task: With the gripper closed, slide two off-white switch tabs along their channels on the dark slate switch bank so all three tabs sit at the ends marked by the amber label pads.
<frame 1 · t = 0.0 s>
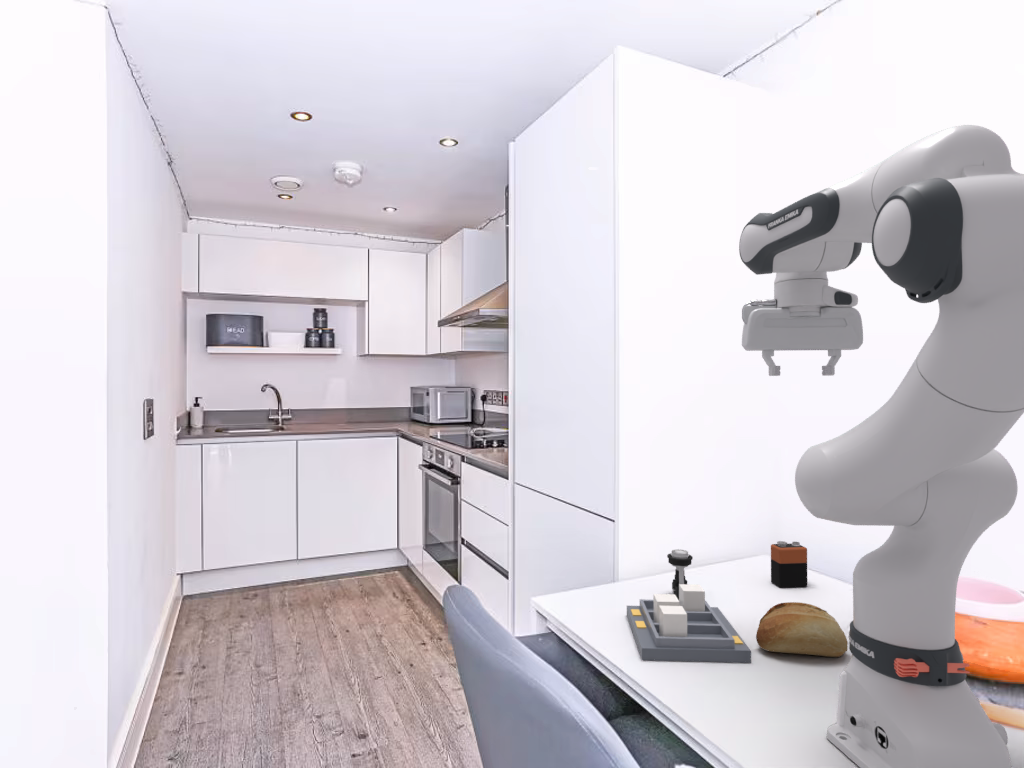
hand: (801, 375, 109), 48 cm above the table, fingers open, 8 cm apart
battery: (789, 585, 140), on the table
tab 1: (673, 624, 105), point 5 cm above the table, slide at 3.0 cm
push button: (679, 597, 133), on the table
switch bank: (683, 636, 111), on the table
bread roll: (800, 653, 105), on the table
tab 3: (691, 600, 117), point 5 cm above the table, slide at -3.0 cm
tab 2: (666, 611, 111), point 5 cm above the table, slide at 3.0 cm
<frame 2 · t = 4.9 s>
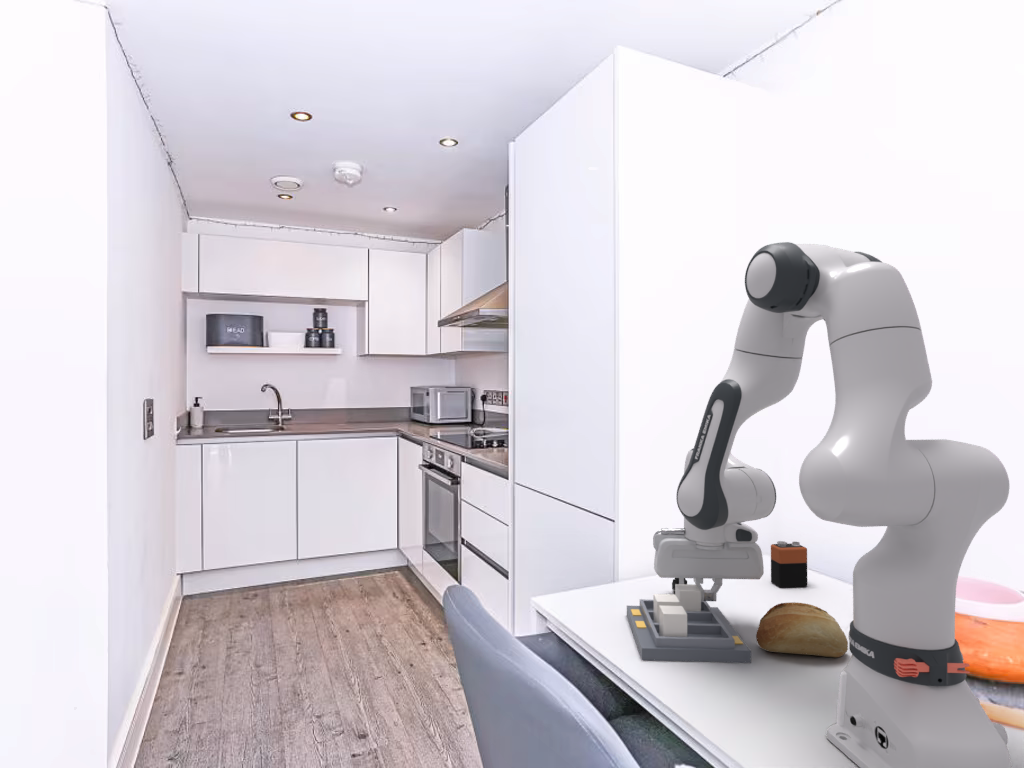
hand: (707, 600, 117), 5 cm above the table, fingers closed
tab 3: (687, 600, 117), point 5 cm above the table, slide at -2.3 cm, touching gripper
everything else where it was.
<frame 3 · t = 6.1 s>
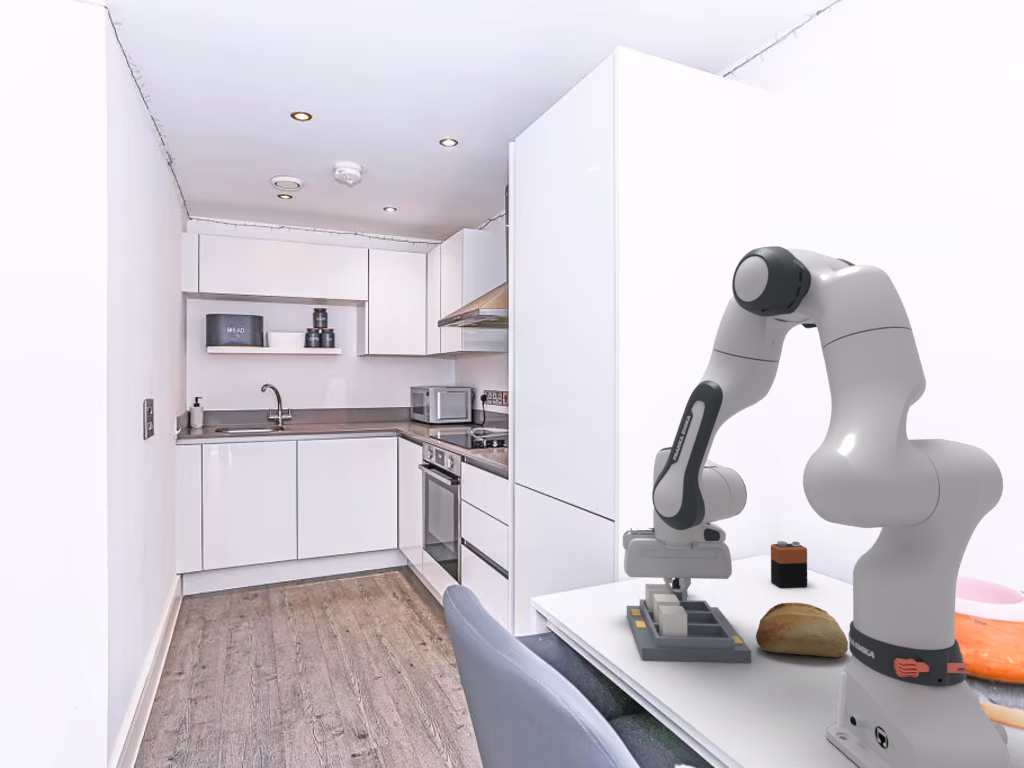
hand: (676, 599, 117), 5 cm above the table, fingers closed
tab 3: (657, 600, 117), point 5 cm above the table, slide at 3.6 cm, touching gripper
everything else where it was.
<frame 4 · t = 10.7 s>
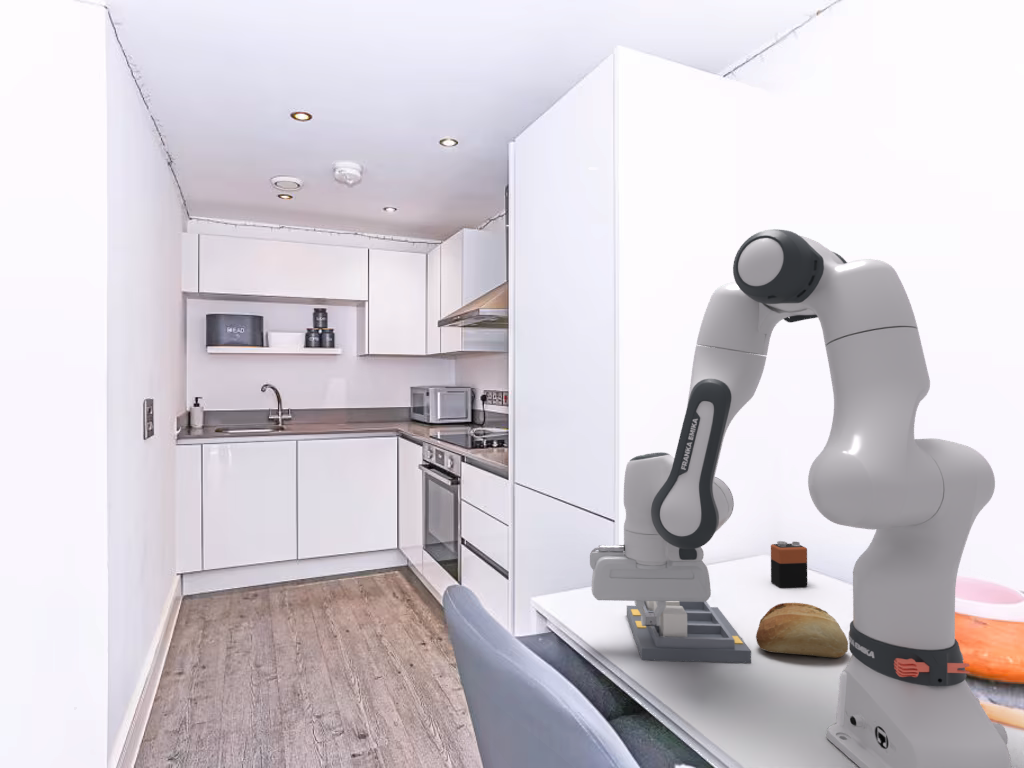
hand: (650, 625, 105), 4 cm above the table, fingers closed
tab 1: (673, 624, 105), point 5 cm above the table, slide at 3.0 cm, touching gripper
tab 3: (657, 600, 117), point 5 cm above the table, slide at 3.5 cm
everything else where it was.
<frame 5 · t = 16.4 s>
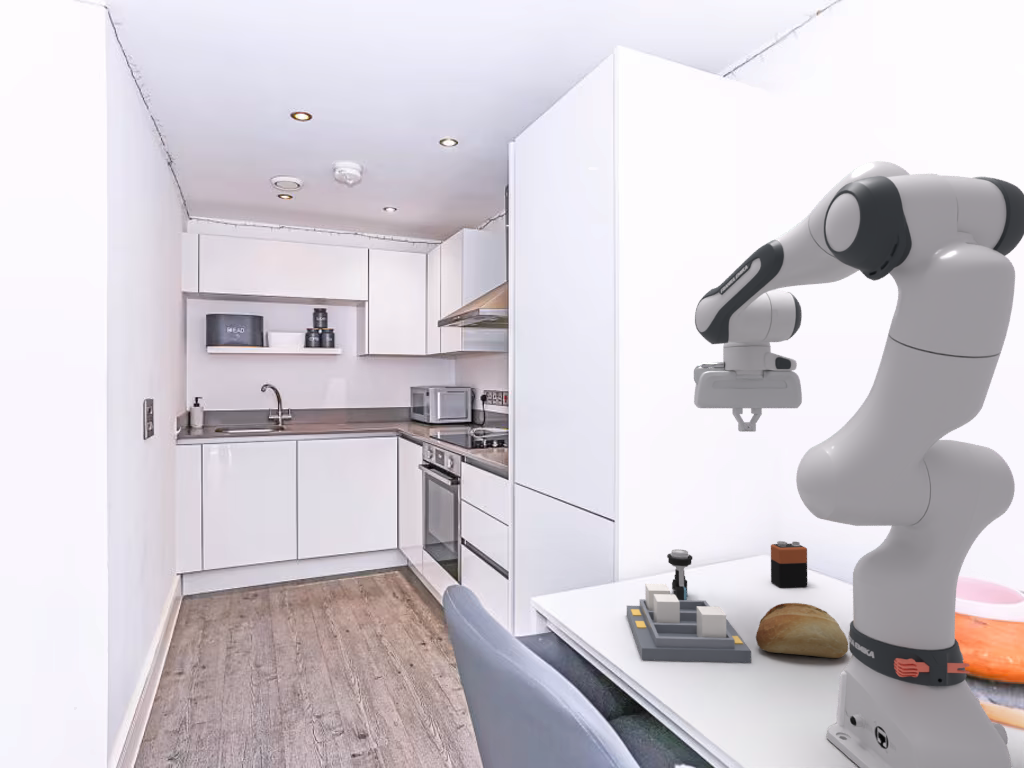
hand: (747, 431, 121), 37 cm above the table, fingers closed
tab 1: (711, 625, 105), point 5 cm above the table, slide at -3.5 cm
everything else where it was.
at the end: tab 3 slide at 3.5 cm; tab 1 slide at -3.5 cm; tab 2 slide at 3.0 cm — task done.
